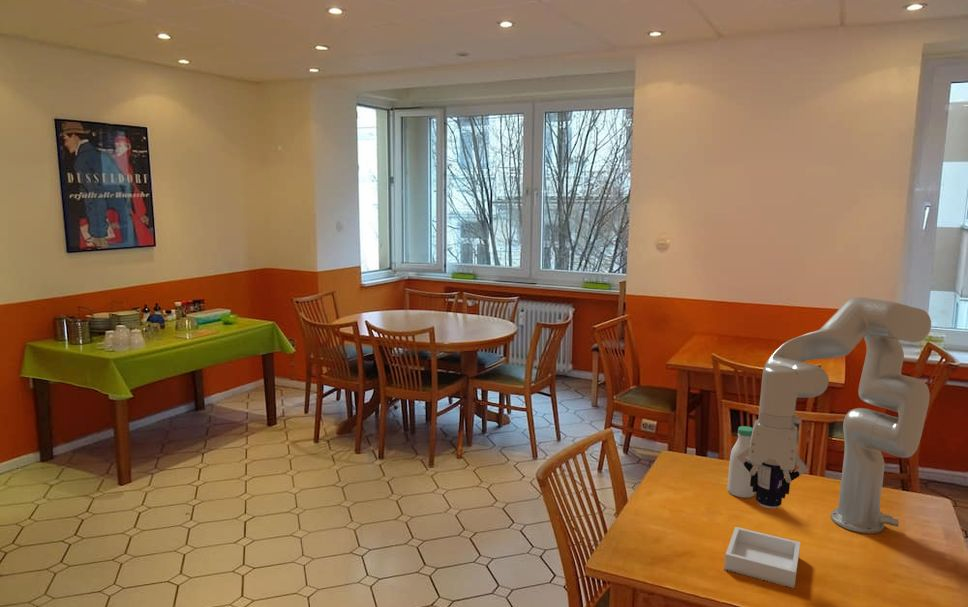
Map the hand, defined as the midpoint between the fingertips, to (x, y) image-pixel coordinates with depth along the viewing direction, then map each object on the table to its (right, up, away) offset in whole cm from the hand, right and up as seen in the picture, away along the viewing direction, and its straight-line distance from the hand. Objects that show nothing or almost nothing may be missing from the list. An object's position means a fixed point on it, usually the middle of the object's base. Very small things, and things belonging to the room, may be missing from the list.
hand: (769, 492), depth 156 cm
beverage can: (0, -3, 0) cm, 3 cm away
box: (0, -18, +3) cm, 18 cm away
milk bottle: (+9, -12, +41) cm, 43 cm away
